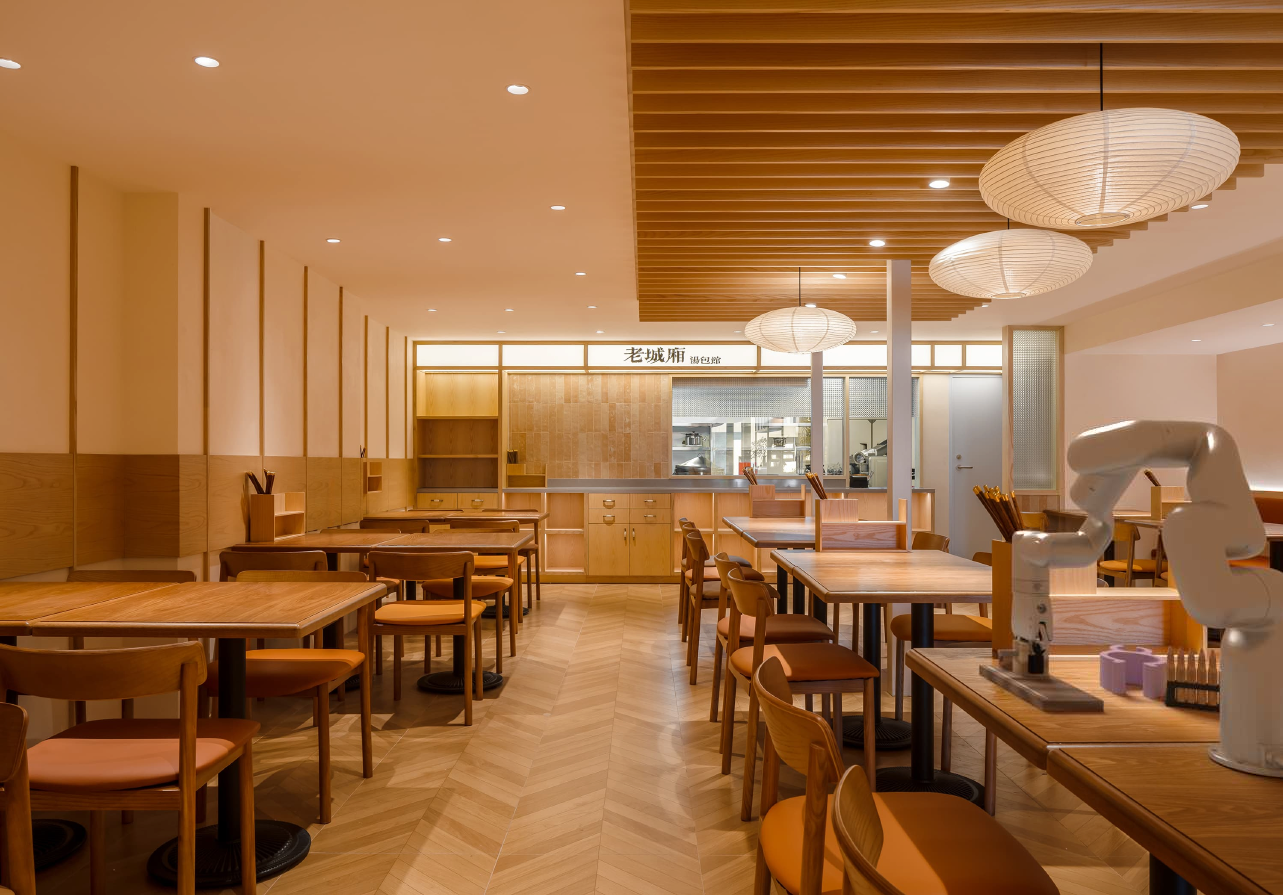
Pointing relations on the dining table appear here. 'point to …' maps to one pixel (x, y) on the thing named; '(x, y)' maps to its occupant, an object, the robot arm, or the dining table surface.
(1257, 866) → the dining table surface
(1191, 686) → the ammunition clip
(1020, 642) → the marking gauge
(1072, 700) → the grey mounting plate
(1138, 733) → the dining table surface
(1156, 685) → the clip
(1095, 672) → the dining table surface
